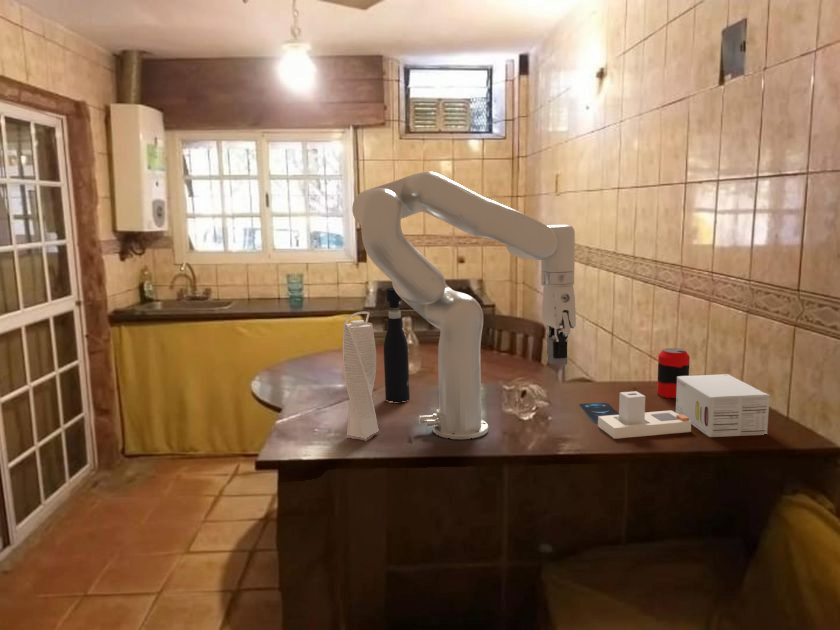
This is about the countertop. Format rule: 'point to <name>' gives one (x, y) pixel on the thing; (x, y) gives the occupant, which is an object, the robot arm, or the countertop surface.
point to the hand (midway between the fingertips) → (557, 355)
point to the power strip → (646, 425)
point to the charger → (631, 408)
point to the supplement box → (722, 405)
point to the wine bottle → (395, 353)
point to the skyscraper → (360, 375)
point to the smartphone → (598, 410)
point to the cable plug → (550, 353)
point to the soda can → (671, 370)
